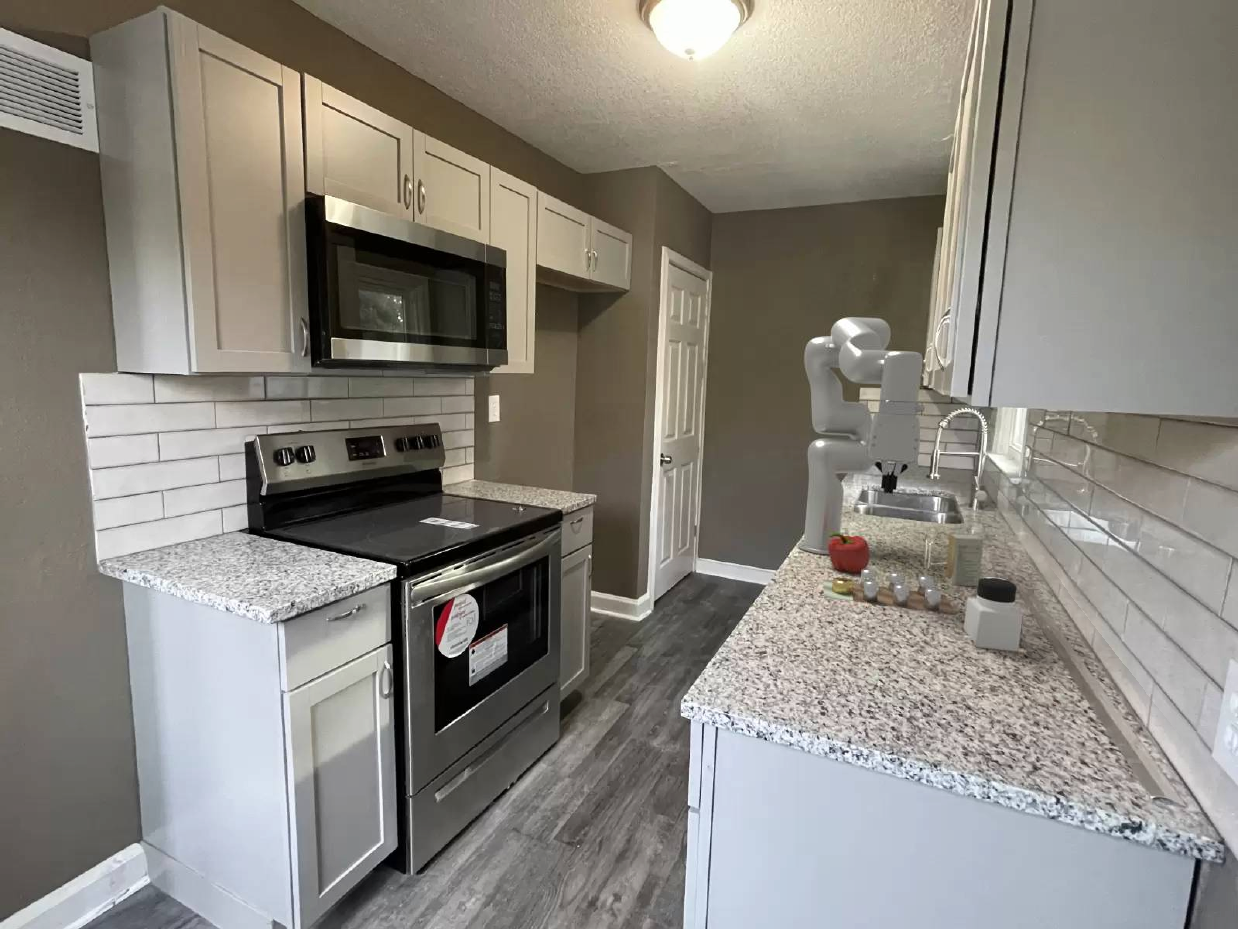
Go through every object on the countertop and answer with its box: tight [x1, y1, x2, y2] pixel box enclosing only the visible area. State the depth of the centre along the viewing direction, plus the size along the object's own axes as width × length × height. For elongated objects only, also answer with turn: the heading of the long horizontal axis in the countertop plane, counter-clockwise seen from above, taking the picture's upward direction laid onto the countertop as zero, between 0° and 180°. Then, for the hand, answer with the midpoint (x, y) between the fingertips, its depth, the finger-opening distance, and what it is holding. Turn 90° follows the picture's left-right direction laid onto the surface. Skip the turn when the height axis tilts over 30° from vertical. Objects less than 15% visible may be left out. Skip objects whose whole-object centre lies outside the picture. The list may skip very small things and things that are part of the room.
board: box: [822, 579, 958, 616], centre depth 138 cm, size 13×26×1 cm, turn 72°
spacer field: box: [859, 567, 942, 611], centre depth 137 cm, size 12×15×4 cm
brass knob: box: [832, 577, 855, 595], centre depth 139 cm, size 4×4×2 cm
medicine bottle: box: [963, 576, 1024, 653], centre depth 115 cm, size 7×7×12 cm
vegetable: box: [828, 532, 870, 574], centre depth 157 cm, size 11×10×10 cm
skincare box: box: [944, 533, 984, 588], centre depth 149 cm, size 6×4×12 cm
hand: (888, 492), depth 138 cm, fingers closed
